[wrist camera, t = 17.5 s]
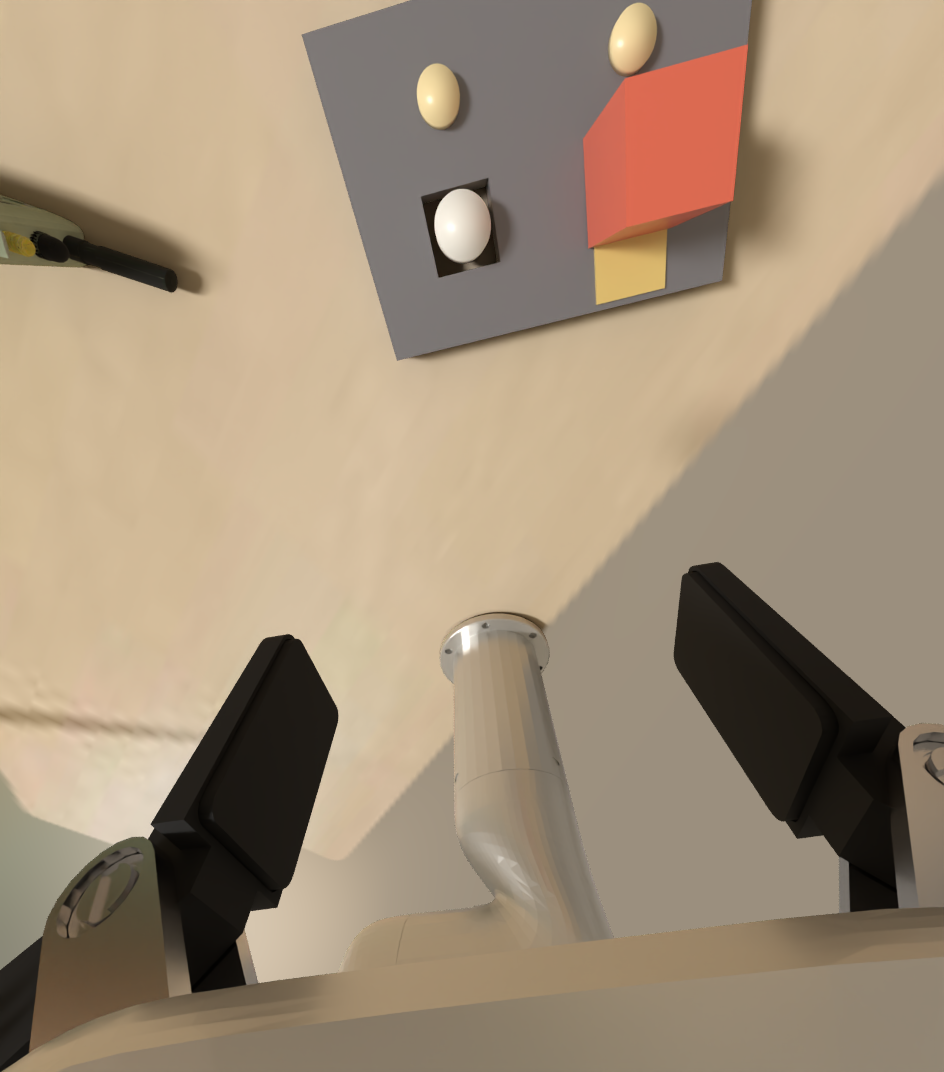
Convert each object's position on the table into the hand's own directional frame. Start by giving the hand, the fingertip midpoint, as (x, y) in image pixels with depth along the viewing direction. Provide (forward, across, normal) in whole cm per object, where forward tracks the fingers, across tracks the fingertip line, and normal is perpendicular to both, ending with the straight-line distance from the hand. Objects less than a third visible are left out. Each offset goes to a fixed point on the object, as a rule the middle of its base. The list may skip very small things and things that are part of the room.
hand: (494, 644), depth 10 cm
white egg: (+23, -2, -12) cm, 25 cm away
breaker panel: (+24, -7, -14) cm, 28 cm away
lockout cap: (+22, -12, -12) cm, 28 cm away
